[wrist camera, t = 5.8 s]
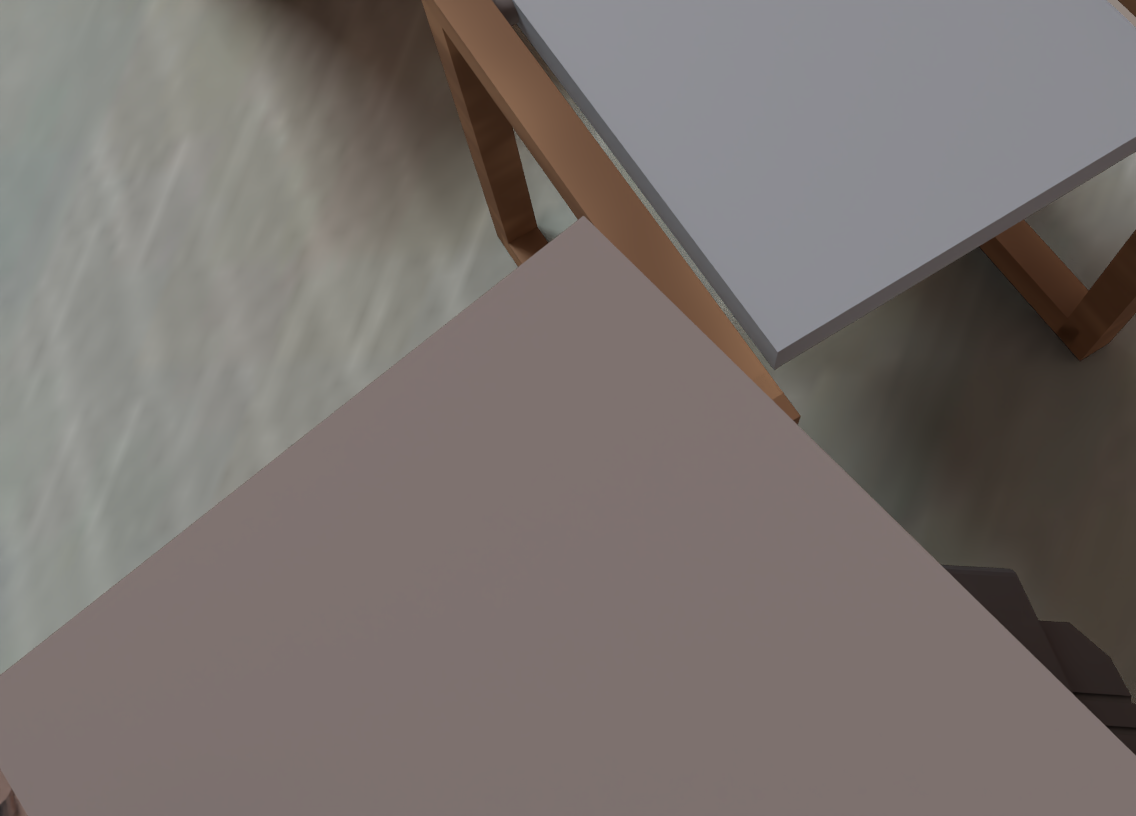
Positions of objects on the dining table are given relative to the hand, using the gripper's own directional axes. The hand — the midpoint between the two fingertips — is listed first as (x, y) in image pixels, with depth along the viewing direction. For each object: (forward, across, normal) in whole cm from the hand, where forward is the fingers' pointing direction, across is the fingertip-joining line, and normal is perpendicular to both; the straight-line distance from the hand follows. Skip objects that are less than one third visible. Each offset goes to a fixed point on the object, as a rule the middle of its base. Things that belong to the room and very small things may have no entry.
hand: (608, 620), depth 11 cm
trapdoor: (+21, -3, -5) cm, 21 cm away
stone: (+2, 0, +4) cm, 5 cm away
